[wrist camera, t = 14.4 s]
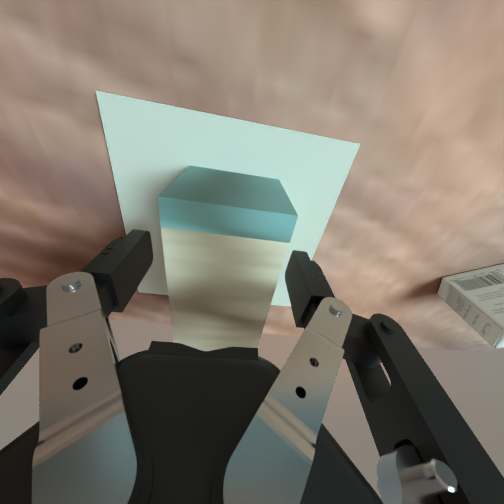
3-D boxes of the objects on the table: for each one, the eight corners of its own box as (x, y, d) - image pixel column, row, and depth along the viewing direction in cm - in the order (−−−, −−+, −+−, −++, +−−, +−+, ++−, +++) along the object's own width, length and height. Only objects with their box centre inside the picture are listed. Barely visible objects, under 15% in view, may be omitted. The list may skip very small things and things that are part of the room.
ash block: (251, 298, 17) (279, 179, 11) (254, 357, 13) (298, 215, 7) (192, 293, 16) (190, 165, 11) (174, 352, 12) (157, 196, 7)
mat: (139, 289, 16) (138, 292, 16) (99, 91, 9) (95, 90, 9) (291, 303, 18) (291, 306, 18) (357, 143, 11) (360, 144, 11)
